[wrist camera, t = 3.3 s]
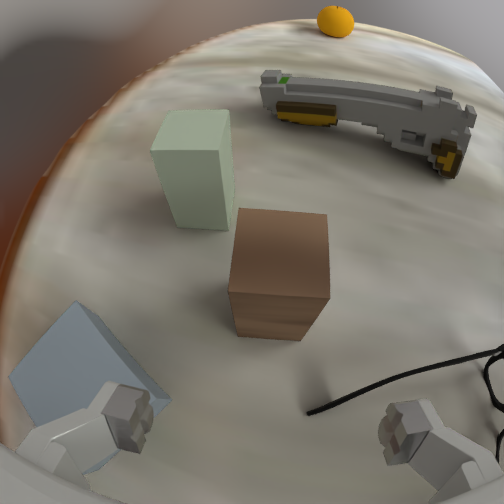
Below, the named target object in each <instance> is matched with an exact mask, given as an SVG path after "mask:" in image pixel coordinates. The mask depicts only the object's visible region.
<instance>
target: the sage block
mask: <svg viewBox="0 0 504 504" xmlns="http://www.w3.org/2000/svg"><path fill="white" fill-rule="evenodd" d="M150 153H151V156H152V159H153V162H154V164H155V167H156V170H157V173H158V176H159V179H160V182H161V185H162V187H163V190H164V193H165V196H166V198H167V201H168V204H169V207H170V209H171V212H172V215H173V217H174V220H175V223H176V225H177V228H194V229H210V230H226V231H229V225H230V219H231V212H232V206H233V199H234V193H235V184H234V171H233V158H232V144H231V130H230V116H229V110H222V109H210V110H173V111H168V113H167V115H166V117H165V119H164V121H163V123H162V125H161V128H160V130H159V132H158V134H157V136H156V138H155V140H154V142H153V144H152V147H151V149H150Z"/></svg>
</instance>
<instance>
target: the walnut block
mask: <svg viewBox="0 0 504 504" xmlns="http://www.w3.org/2000/svg"><path fill="white" fill-rule="evenodd" d="M228 294H229V299H230V303H231V308H232V312H233V317H234V321H235V326H236V330H237V334H238V337H249V338H262V339H277V340H294V341H301V340H302V338H303V337H304V336H305V334H306V333H307V331H308V330H309V329H310V327H311V326H312V324H313V323H314V321H315V320H316V318H317V317H318V316H319V314H320V313H321V311H322V310H323V308H324V307H325V305H326V304H327V302H328V301H329V299H330V267H329V243H328V224H327V215H326V214H314V213H303V212H290V211H277V210H263V209H248V208H239V210H238V218H237V225H236V232H235V240H234V247H233V255H232V262H231V270H230V278H229V286H228Z"/></svg>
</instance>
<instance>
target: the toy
mask: <svg viewBox="0 0 504 504" xmlns="http://www.w3.org/2000/svg"><path fill="white" fill-rule="evenodd" d="M261 82H262V84H261V85H260V87H259V88H260V93H261V97H262V102H263V107H267V110H272V114H277V116H278V119H281V121H291V122H293V123H297V124H305V125H316V126H325V127H330V125H334V126H337V122H338V119H339V120H347V121H355V122H362V125H367V126H373V127H377V134H382V135H384V141H385V142H391V143H392V148H397V149H398V150H400V151H405V152H410V153H414V154H419V155H423V156H427V160H428V161H429V162H432V163H433V169H437V170H438V174H439V175H440V176H443V177H445V178H449V179H452V178H453V179H455V176H457V175H458V172H459V170H460V167H461V164H462V161H463V158H464V155H465V153H466V150H467V147H468V143H469V140H470V137H471V133H470V130H469V127H470V128H473V127H474V124H475V120H476V117H477V114H476V112H475V109H474V107H473V106H470V105H466V107H465V111H463V110H462V109H461V106H460V104H459V102H456V101H454V100H452V95H453V92H452V90H451V89H447V88H443V87H439V86H436V91H435V92H430V91H426V90H422V89H420V91H419V92H415V91H410V90H405V89H400V88H395V87H389V86H383V85H376V84H369V83H361V82H353V81H344V80H333V79H320V78H301V77H292V74H282V73H281V70H265V72H264V73H263V74H262V75H261Z"/></svg>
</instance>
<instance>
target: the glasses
mask: <svg viewBox="0 0 504 504" xmlns="http://www.w3.org/2000/svg"><path fill="white" fill-rule="evenodd" d="M490 355H492V357H491V358H490V359H489V360H488V362H487V363H486V365H485V368H484V372H483V373H484V379H485V382H486V384H487V387H488V390H489V392H490V396H491V399H492V403H493V405H494V406H495V407H496V408H497V409H498V410H500V411H502V412H503V413H504V404H502V403H500V402H499V401H498V400H497V399H496V397H495V395H494V393H493V390H492V387H491V384H490V380H489V374H488V368H489V366H490V365H491V364H493V363H494V362H495V361H497V360H499V359H504V344H502V345H501V346H499V347H498V348H496V349H493V350H488V351H484V352H480V353H476V354H472V355H469V356H465V357H461V358H457V359H452V360H448V361H444V362H440V363H436V364H433V365H429V366H425V367H422V368H418V369H414V370H411V371H408V372H404V373H401V374H398V375H395V376H392V377H389V378H387V379H384V380H382V381H379V382H377V383H374V384H372V385H369V386H367V387H364V388H362V389H360V390H357V391H355V392H353V393H350V394H348V395H346V396H344V397H341V398H339V399H337V400H335V401H333V402H330V403H328V404H326V405H324V406H322V407H319V408H317V409H314V410H311V411H308V412H307V415H308V416H311V415H314V414H317V413H320V412H323V411H326V410H328V409H330V408H333V407H335V406H337V405H340V404H342V403H344V402H346V401H348V400H350V399H353V398H355V397H357V396H359V395H361V394H364V393H366V392H368V391H370V390H373V389H375V388H377V387H380V386H382V385H385V384H387V383H390V382H392V381H395V380H398V379H400V378H403V377H407V376H410V375H413V374H417V373H421V372H424V371H428V370H433V369H437V368H441V367H445V366H450V365H455V364H459V363H463V362H467V361H470V360H474V359H478V358H482V357H486V356H490ZM503 436H504V429H503V430H502V432H501V433H500V434H499V436H498V438H497V451H496V460H497V462H498V464H499V450H500V444H501V440H502V438H503Z"/></svg>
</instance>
